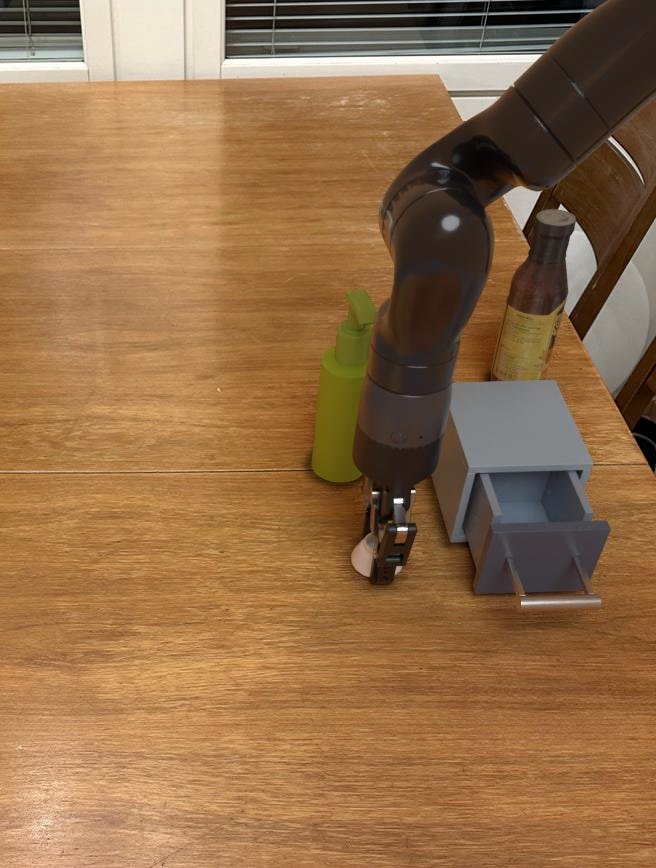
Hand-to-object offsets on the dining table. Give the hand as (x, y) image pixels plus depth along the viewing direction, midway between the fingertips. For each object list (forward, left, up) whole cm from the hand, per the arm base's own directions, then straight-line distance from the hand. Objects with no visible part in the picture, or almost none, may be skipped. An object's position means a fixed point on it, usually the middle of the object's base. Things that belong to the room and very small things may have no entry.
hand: (376, 560), depth 96 cm
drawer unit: (-7, -15, 0) cm, 17 cm away
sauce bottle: (-3, -36, -1) cm, 36 cm away
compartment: (-13, -5, 0) cm, 14 cm away
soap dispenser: (+9, -12, -1) cm, 15 cm away
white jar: (0, 0, -1) cm, 1 cm away
